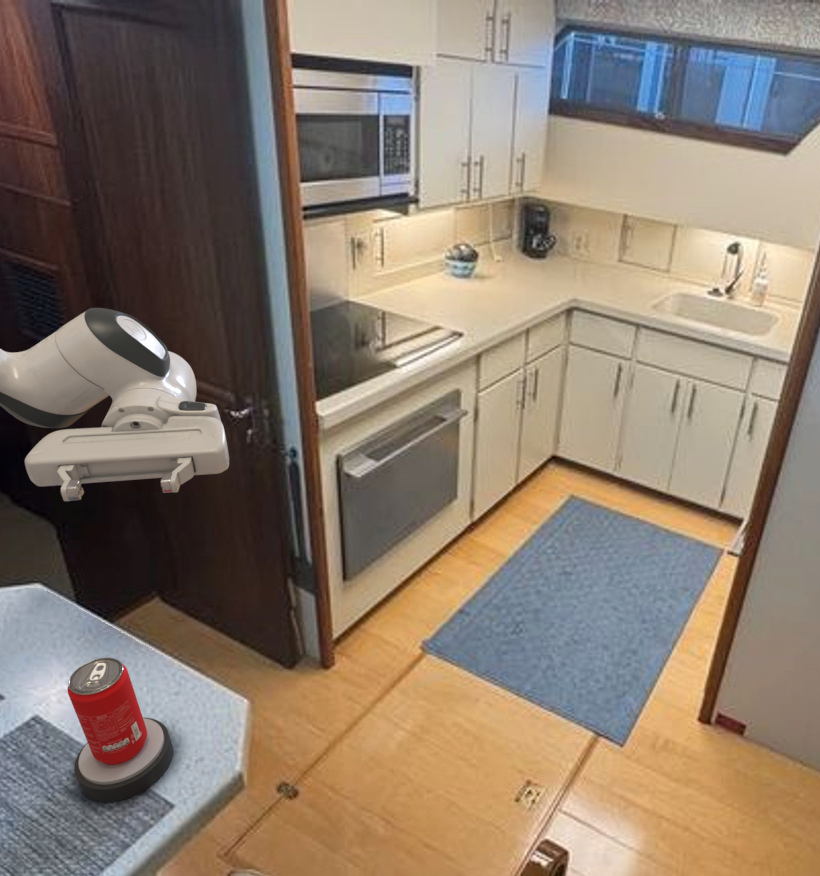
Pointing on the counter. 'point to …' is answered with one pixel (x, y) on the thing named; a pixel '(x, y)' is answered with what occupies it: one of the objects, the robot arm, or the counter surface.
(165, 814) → the counter surface
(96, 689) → the beverage can
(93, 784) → the scale
